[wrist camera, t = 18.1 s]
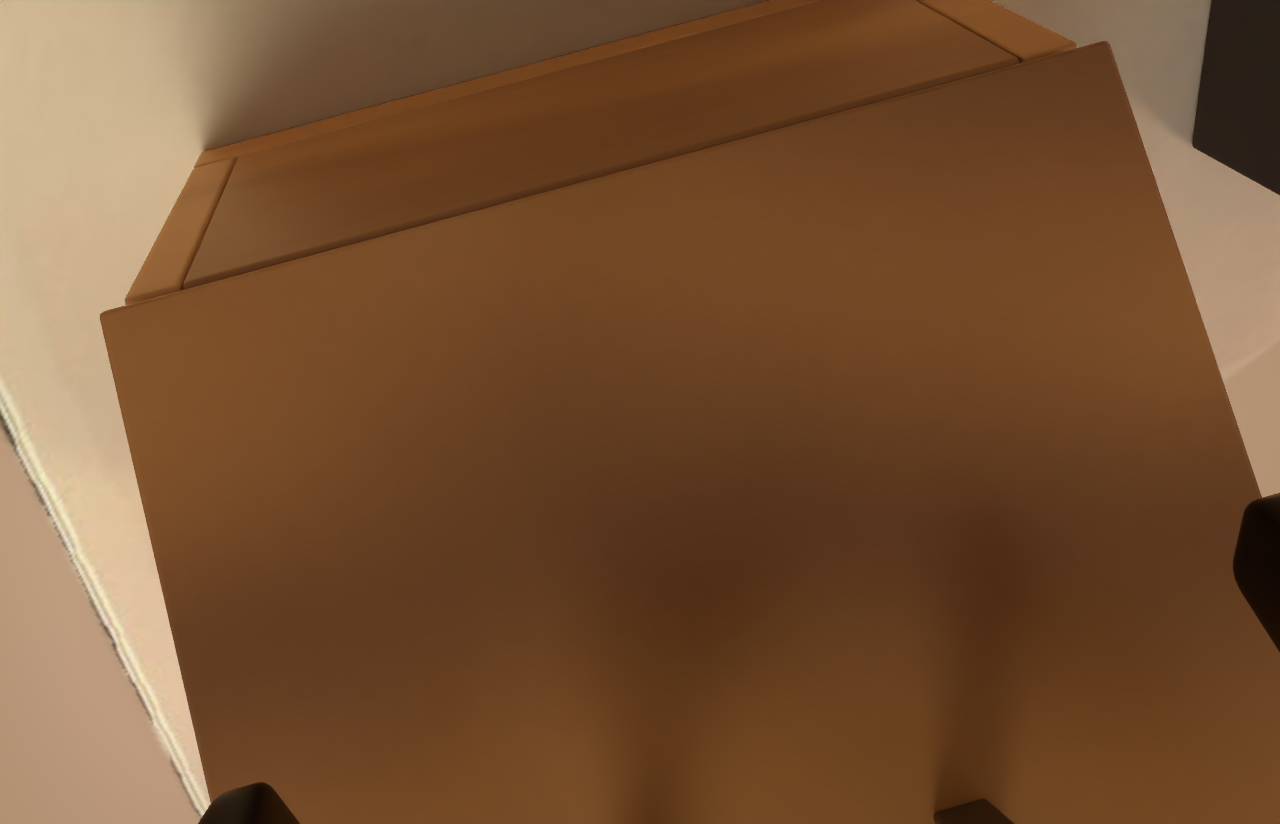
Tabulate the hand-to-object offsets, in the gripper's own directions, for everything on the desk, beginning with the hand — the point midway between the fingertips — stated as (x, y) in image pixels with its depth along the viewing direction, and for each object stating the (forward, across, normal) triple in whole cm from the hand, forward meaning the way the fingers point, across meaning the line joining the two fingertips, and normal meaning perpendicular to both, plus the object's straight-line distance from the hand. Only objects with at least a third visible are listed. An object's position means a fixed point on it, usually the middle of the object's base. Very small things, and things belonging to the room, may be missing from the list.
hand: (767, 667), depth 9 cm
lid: (+3, 0, +2) cm, 4 cm away
